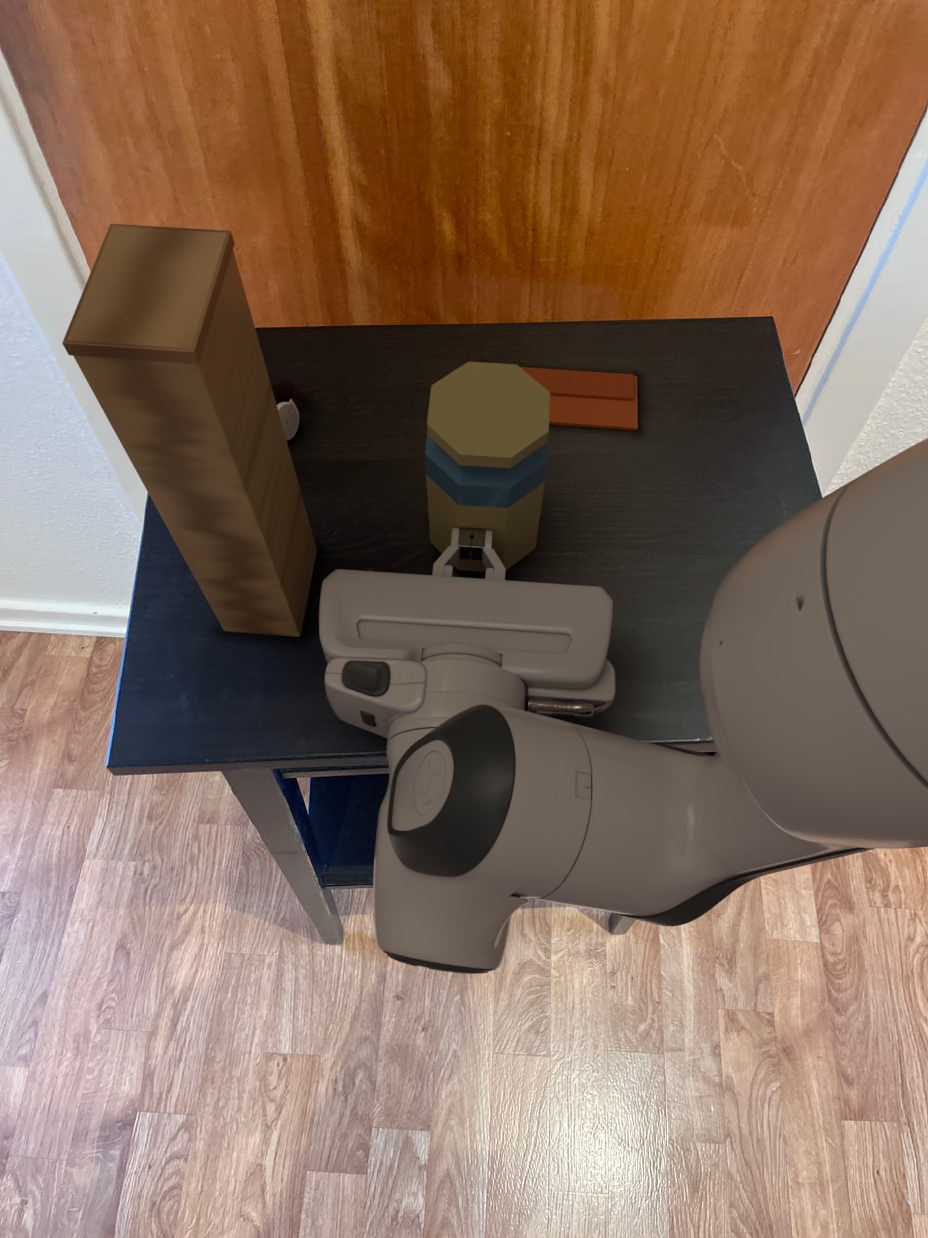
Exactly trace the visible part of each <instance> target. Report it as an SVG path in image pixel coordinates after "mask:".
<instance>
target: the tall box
mask: <svg viewBox="0 0 928 1238" xmlns="http://www.w3.org/2000/svg"><path fill="white" fill-rule="evenodd" d="M234 248H235V240H234V238H233V234H232V231H231V230H223V229H221V230H220V229H204V228H189V227H188V228H187V227H176V226H175V227H173V226H172V227H171V226H158V225H157V226H156V225H155V226H154V225H140V224H139V225H138V224H124V223H122V224H121V223H110V224H109V225H108V228H107V231H106V233H105V236H104V238H103V240H102V243H101V246H100V248H99V251H98V253H97V255H96V258H95V261H94V263H93V266H92V268H91V270H90V273H89V275H88V278H87V280H86V283H85V285H84V288H83V290H82V293H81V294H80V297H79V300H78V302H77V306H76V308H75V310H74V312H73V315H72V318H71V320H70V323H69V325H68V328H67V330H66V332H65V335H64V337H63V339H62V345H63V348H64V350H65V351H66V353H67V355H68V356H71V357H72V356H73V358H74V360H75V362H76V364H77V365H78V368H79V369H80V371H81V373H82V375H83V376H84V378H85V380H86V382H87V384H88V386H89V387H90V389H91V391H92V393H93V395H94V397H95V398H96V400H97V402H98V404H99V406H100V407H101V409H102V411H103V413H104V415H105V417H106V418H107V420H108V422H109V424H110V426H111V427H112V430H113V432H114V433H115V435H116V437H117V439H118V440H119V442H120V444H121V446H122V448H123V449H124V451H125V453H126V455H127V457H128V459H129V460H130V462H131V464H132V466H133V467H134V470H135V471H136V473H137V475H138V477H139V479H140V481H141V482H142V484H143V486H144V488H145V490H146V492H147V493H148V495H149V497H150V499H151V501H152V502H153V504H154V506H155V508H156V510H157V512H158V514H159V515H160V517H161V519H162V521H163V523H164V524H165V526H166V529H167V530H168V532H169V533H170V535H171V537H172V539H173V541H174V543H175V544H176V546H177V548H178V550H179V552H180V554H181V555H182V557H183V559H184V561H185V563H186V564H187V566H188V568H189V570H190V572H191V573H192V576H193V577H194V579H195V581H196V583H197V584H198V586H199V589H200V590H201V592H202V594H203V595H204V597H205V599H206V601H207V603H208V605H209V607H210V608H211V610H212V612H213V614H214V616H215V618H216V619H217V621H218V623H219V625H220V626H221V628H222V630H223V632H231V633H245V634H256V635H257V634H258V635H259V634H260V635H271V636H283V637H298V638H300V637H301V636H302V631H303V630H302V629H303V626H304V619H305V615H306V609H307V604H308V599H309V594H310V588H311V583H312V578H313V572H314V568H315V564H316V563H315V562H316V557H317V553H318V548H317V545H316V541H315V539H314V538H315V537H314V535H313V530H312V527H311V523H310V520H309V517H308V512H307V509H306V506H305V502H304V498H303V495H302V492H301V488H300V484H299V480H298V476H297V473H296V470H295V466H294V463H293V460H292V456H291V451H290V449H289V444H288V440H287V441H286V437H285V433H284V430H283V426H282V423H281V419H280V416H279V412H278V408H277V405H278V404H277V401H275V398H274V394H273V390H272V387H271V386H272V384H271V380H270V377H269V373H268V370H267V366H266V362H265V359H264V355H263V351H262V348H261V344H260V341H259V337H258V333H257V330H256V327H255V322H254V320H253V316H252V312H251V308H250V305H249V302H248V298H247V295H246V291H245V287H244V284H243V280H242V276H241V272H240V269H239V266H238V261H237V258H236V255H235V252H234Z"/></svg>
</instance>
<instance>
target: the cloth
mask: <svg viewBox="0 0 928 1238" xmlns="http://www.w3.org/2000/svg"><path fill="white" fill-rule="evenodd" d="M519 367H520V368H522V369H523V370H524V371H525V372H526V373H527V374H529V375H530V376H531V377H532V378H533V379H535V380H536V381H537V382H538V383H539V384H540V385H542V386H543V387H544V388H545V389H546V390H548V391H549V392H550V407H549V426H564V427H575V428H576V427H578V428H592V429H607V430H622V431H638V429H639V410H638V409H639V405H638V403H639V401H638V376H637V375H634V374H632V373H620V372H619V373H618V372H603V371H587V370H586V371H585V370H569V369H557V368H556V369H555V368H542V367H527V366H519Z"/></svg>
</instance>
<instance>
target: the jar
mask: <svg viewBox="0 0 928 1238" xmlns="http://www.w3.org/2000/svg"><path fill="white" fill-rule="evenodd" d="M520 367H521V366H519V365H518V364H517V363H515V364H514V363H500V362H499V363H498V362H483V361H482V362H481V361H467V362H466V363H464V364H463V365H461V366H460V367H458V368H456V369H455V370H453V371H451V372H450V373H449V374H447V375H446V376H444V377H443V378H441V379H439V380H438V381H437V382H435V383H433V384H431V387H430V393H429V402H428V410H427V411H428V412H427V420H426V440H425V447H424V448H425V449H424V461H425V478H426V496H427V514H428V529H429V531H428V532H429V542H430V544H431V545H432V546H434V547H435V548H436V549H437V551H439V553H440V554H442V553H443V552H444V551H445V550H446V549H447V548H448V546H451V538H452V529H453V528H466V529H472V534H473V529H486V530H493V535H492V549H494V551H495V552H496V554H497V556H498V557H499V559H500V561H501V562H502V564H503V565H504V567H505V569H506V570H505V572H506V571H507V570H509V569H510V568H512V567H513V566H514V565H516V564H517V563H518V562H520V561H521V560H522V559H523V558H524V557H526V556H527V555H529V554H530V553H531V552H533V551H534V550H535V549H536V545H537V540H538V539H537V538H538V532H539V525H540V518H541V511H542V504H543V499H544V491H545V484H546V478H547V471H548V463H549V442H550V425H549V407H550V392H549V391H548V390H546V389H545V388H544V387H543V386H542V385H540V384H539V383H538V382H537V381H536V380H535V379H533V378H532V377H531V376H530V375H529V374H527V373H526V372H525V371H524V370H523V369H522V368H520ZM454 568H456V569H457V570H458V571H464V572H479V573H486V568H485V566H484V564H483V562H482V561H480V560H468V559H460V560H459V561H458V563H457V564H456V565H455V566H454Z"/></svg>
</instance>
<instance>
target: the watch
mask: <svg viewBox="0 0 928 1238" xmlns="http://www.w3.org/2000/svg"><path fill="white" fill-rule="evenodd" d="M271 387H272V390H273V394H274V398H275V401H276V402H277V401H279V400H281V399H284V398H286V397H291V398H290V399H289V401H281V402H279V403H278V404H276V405H277V408H278V412H279V416H280V419H281V423H282V426H283V430H284V433H285V437H286V441H287V442H288V441H289V440H291V439H292V438H293V437H294V436H295V435H296V433H297V431H298V427H299V422H300V417H299V416H300V411H301V409H302V407H303V399H302V396H301V393H300V391H299V388H298V386H297V384H296V383H295V382H294V381H291V380H285V381H280V382H276V383H274V384H271Z"/></svg>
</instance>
